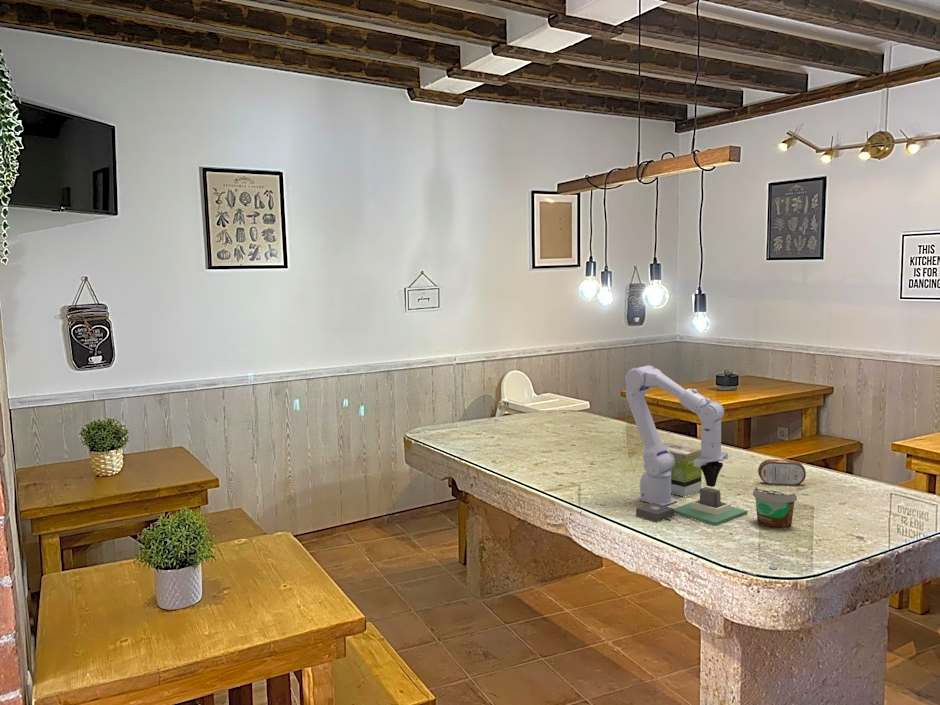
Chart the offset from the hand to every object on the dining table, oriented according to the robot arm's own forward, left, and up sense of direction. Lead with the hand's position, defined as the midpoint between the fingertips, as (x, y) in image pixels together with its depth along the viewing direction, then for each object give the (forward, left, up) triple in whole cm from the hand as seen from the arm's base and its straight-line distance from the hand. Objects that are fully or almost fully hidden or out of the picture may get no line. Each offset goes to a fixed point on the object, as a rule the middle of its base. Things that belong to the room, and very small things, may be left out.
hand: (710, 485), depth 224 cm
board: (0, -1, -8) cm, 8 cm away
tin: (-2, +43, -9) cm, 44 cm away
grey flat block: (-8, -15, -8) cm, 19 cm away
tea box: (-22, +11, -9) cm, 26 cm away
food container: (+18, +3, -9) cm, 20 cm away
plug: (0, 0, -7) cm, 7 cm away
